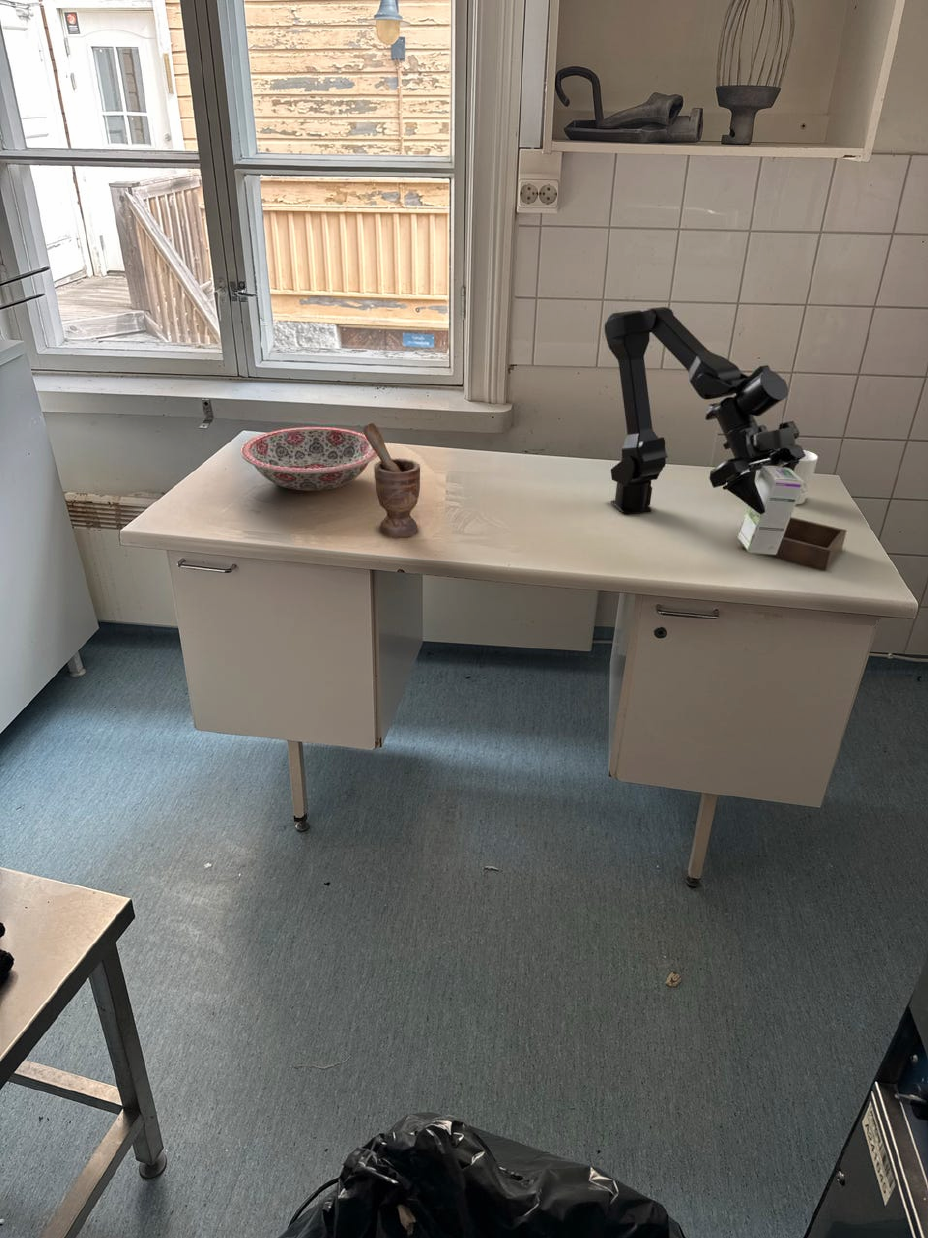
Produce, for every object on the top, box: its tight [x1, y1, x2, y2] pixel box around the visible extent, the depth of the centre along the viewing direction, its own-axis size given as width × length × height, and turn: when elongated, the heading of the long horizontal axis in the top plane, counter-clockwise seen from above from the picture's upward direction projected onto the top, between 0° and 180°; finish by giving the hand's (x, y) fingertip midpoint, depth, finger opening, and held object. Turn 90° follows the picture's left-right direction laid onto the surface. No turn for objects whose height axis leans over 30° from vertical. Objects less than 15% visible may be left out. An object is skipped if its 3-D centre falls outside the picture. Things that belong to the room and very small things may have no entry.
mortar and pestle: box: [362, 422, 421, 538], centre depth 170 cm, size 12×9×20 cm
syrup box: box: [736, 466, 804, 555], centre depth 158 cm, size 6×6×14 cm
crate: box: [741, 516, 847, 571], centre depth 171 cm, size 16×12×4 cm
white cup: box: [793, 449, 819, 506], centre depth 193 cm, size 8×8×10 cm
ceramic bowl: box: [240, 426, 378, 492], centre depth 193 cm, size 29×29×8 cm
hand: (777, 509), depth 157 cm, fingers closed on syrup box, 7 cm apart
